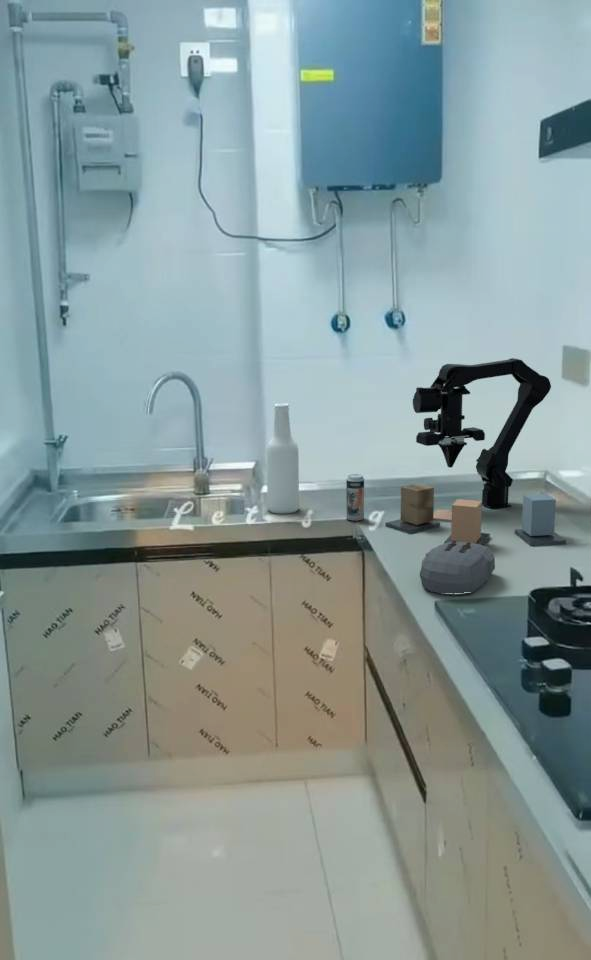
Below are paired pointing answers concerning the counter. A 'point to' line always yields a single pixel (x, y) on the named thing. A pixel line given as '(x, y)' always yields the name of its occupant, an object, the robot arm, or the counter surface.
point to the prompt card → (443, 515)
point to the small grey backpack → (456, 567)
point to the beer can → (355, 497)
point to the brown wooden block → (417, 503)
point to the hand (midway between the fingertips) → (449, 467)
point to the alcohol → (282, 465)
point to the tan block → (466, 521)
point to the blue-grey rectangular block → (538, 514)
